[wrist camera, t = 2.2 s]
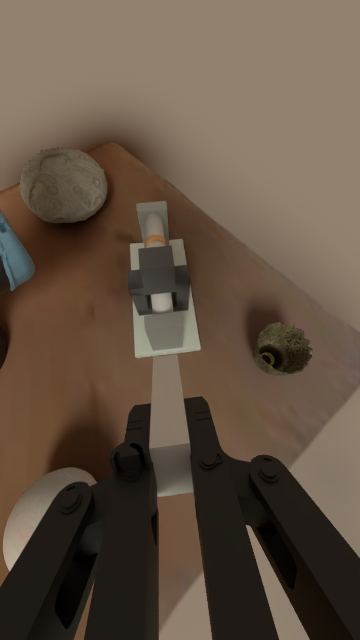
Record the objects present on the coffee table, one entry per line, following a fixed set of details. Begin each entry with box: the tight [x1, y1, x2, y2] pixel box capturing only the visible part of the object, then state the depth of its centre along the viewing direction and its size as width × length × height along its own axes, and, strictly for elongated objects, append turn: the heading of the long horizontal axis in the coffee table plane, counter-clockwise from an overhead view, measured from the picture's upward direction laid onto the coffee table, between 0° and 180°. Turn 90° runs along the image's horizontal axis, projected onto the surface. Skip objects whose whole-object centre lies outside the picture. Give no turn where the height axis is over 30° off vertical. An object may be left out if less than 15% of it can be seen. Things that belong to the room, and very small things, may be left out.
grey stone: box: [19, 147, 107, 223], centre depth 49 cm, size 18×18×10 cm
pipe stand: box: [130, 201, 201, 358], centre depth 39 cm, size 24×11×11 cm, turn 7°
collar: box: [128, 245, 190, 316], centre depth 32 cm, size 3×8×12 cm, turn 97°
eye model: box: [3, 467, 97, 571], centre depth 26 cm, size 10×10×10 cm
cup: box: [253, 322, 312, 375], centre depth 35 cm, size 8×7×8 cm
